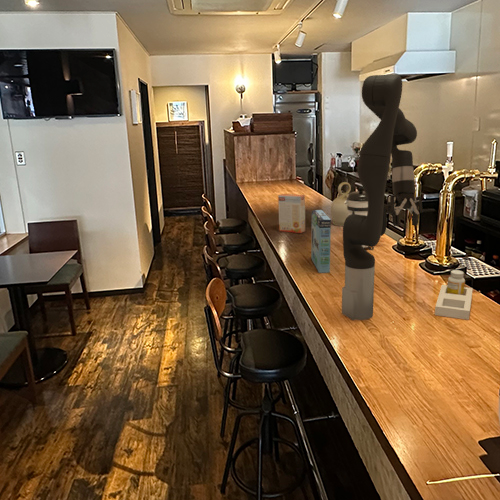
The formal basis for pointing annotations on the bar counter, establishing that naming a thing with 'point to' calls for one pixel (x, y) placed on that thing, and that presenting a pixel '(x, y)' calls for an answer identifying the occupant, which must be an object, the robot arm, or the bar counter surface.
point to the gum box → (320, 241)
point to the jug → (340, 206)
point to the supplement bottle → (456, 283)
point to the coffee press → (362, 207)
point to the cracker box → (291, 213)
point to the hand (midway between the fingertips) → (405, 225)
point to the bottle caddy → (454, 304)
